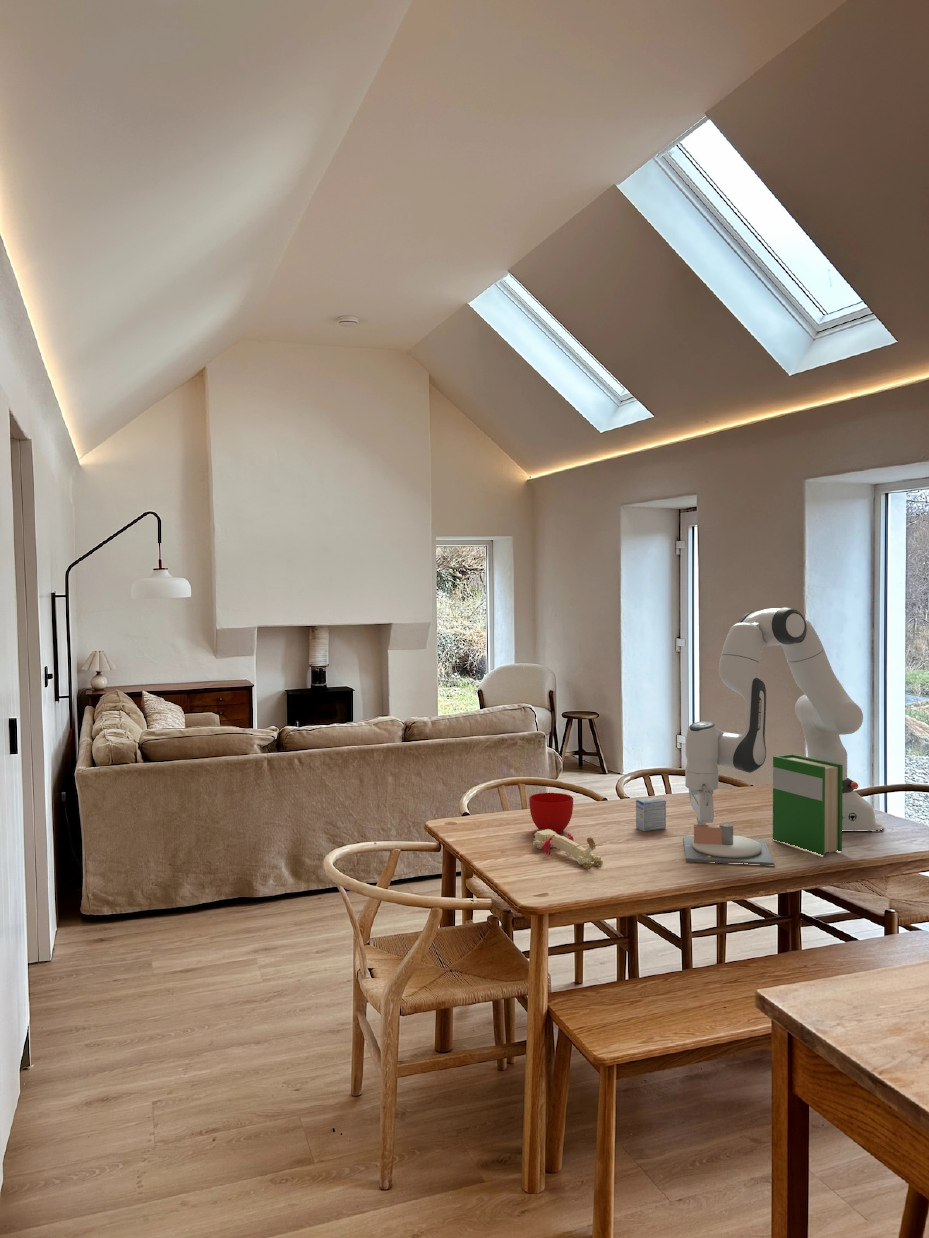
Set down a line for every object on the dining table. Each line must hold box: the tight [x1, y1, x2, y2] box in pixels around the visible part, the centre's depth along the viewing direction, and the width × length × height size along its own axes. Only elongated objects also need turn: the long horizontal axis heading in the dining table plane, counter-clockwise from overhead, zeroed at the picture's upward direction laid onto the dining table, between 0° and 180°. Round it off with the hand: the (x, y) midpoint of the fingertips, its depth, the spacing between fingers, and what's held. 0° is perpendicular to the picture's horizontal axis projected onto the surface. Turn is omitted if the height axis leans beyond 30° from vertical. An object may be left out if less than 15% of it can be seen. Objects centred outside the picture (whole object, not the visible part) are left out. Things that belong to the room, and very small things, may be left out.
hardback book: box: [772, 753, 843, 856], centre depth 252 cm, size 18×7×24 cm, turn 26°
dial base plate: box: [682, 835, 775, 866], centre depth 248 cm, size 22×22×1 cm
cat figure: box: [532, 829, 603, 870], centre depth 246 cm, size 10×9×25 cm
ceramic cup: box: [528, 792, 574, 835], centre depth 272 cm, size 13×17×10 cm
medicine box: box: [635, 796, 667, 832], centre depth 272 cm, size 8×4×9 cm, turn 113°
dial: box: [692, 823, 761, 858], centre depth 248 cm, size 18×18×6 cm
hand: (701, 830), depth 254 cm, fingers closed
